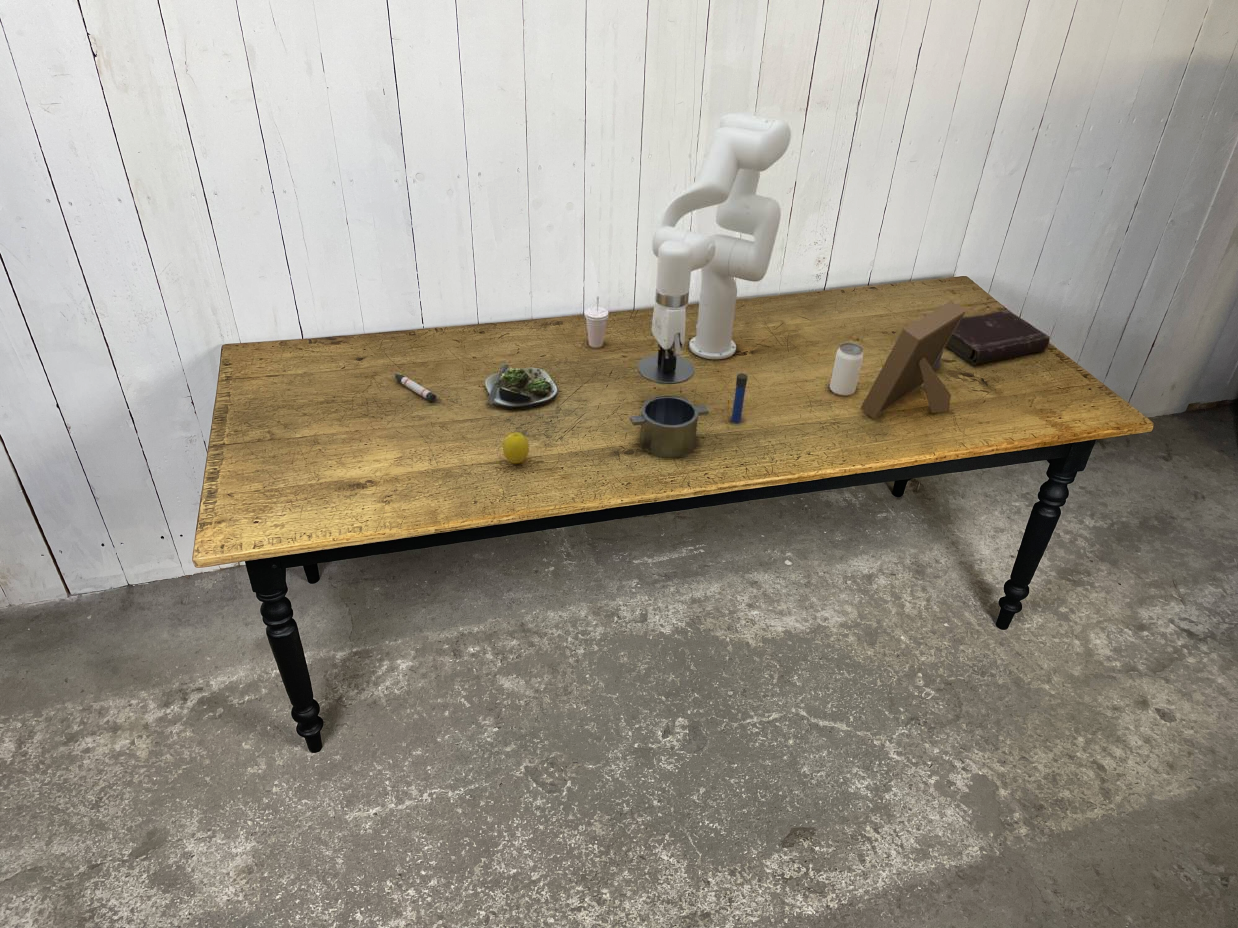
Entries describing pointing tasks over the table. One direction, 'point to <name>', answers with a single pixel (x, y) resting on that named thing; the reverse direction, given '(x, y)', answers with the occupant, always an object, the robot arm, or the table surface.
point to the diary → (995, 338)
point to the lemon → (515, 448)
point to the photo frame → (915, 363)
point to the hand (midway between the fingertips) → (666, 367)
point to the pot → (668, 426)
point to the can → (846, 369)
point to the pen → (739, 397)
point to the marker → (416, 387)
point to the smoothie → (596, 324)
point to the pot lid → (655, 374)
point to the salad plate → (520, 388)
